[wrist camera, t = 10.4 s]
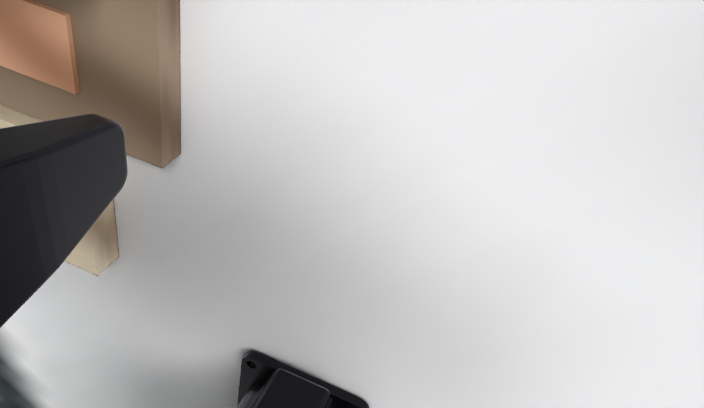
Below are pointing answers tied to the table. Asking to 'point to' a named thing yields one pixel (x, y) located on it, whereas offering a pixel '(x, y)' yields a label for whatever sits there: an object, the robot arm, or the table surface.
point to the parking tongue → (102, 236)
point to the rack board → (97, 66)
